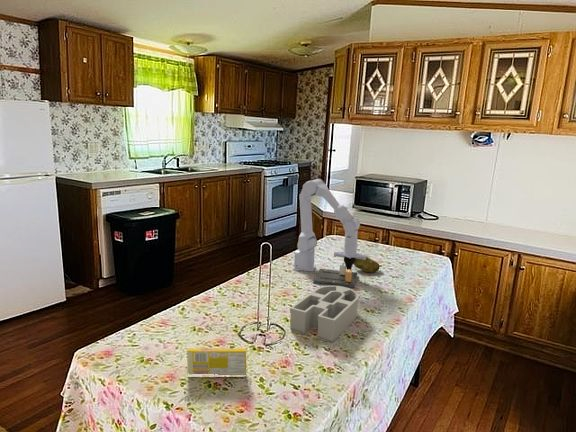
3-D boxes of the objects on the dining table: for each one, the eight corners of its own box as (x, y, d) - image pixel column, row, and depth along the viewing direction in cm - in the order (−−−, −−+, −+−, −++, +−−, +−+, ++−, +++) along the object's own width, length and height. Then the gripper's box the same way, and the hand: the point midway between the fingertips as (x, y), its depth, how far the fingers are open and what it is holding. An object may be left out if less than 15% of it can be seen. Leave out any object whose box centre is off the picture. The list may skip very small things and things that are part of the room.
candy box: (246, 374, 118) (246, 347, 116) (246, 378, 115) (246, 352, 114) (188, 374, 117) (188, 347, 115) (187, 378, 115) (186, 351, 113)
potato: (375, 276, 196) (376, 259, 195) (349, 270, 202) (350, 255, 201) (380, 270, 203) (381, 255, 202) (355, 266, 209) (356, 250, 208)
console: (313, 283, 185) (313, 279, 185) (319, 271, 200) (319, 268, 200) (353, 288, 181) (353, 284, 181) (357, 275, 196) (357, 272, 196)
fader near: (345, 281, 184) (345, 271, 183) (346, 278, 187) (346, 268, 186) (350, 282, 183) (351, 272, 182) (351, 279, 186) (352, 269, 185)
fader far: (339, 274, 192) (339, 264, 191) (340, 271, 195) (341, 262, 194) (344, 274, 191) (345, 265, 190) (345, 272, 195) (346, 263, 194)
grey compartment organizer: (289, 331, 143) (289, 308, 141) (324, 302, 166) (325, 282, 164) (333, 345, 134) (334, 320, 133) (363, 313, 158) (365, 291, 156)
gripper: (333, 245, 188) (332, 273, 191) (366, 248, 184) (363, 277, 187) (335, 241, 194) (334, 268, 197) (367, 244, 191) (365, 272, 194)
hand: (348, 272), depth 193 cm, fingers closed
